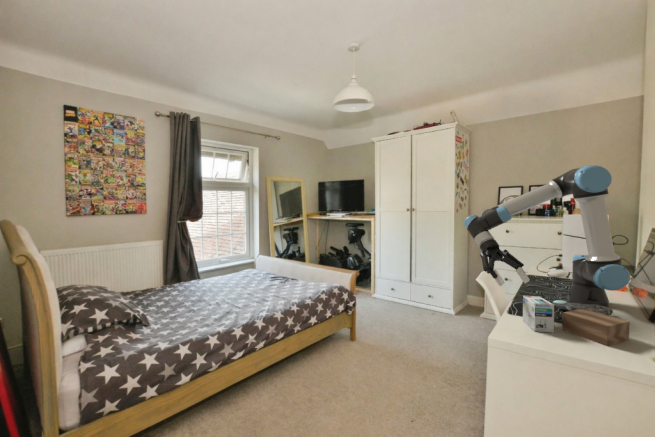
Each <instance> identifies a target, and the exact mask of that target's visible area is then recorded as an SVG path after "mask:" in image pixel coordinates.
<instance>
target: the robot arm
mask: <svg viewBox="0 0 655 437" xmlns="http://www.w3.org/2000/svg"><path fill="white" fill-rule="evenodd" d="M612 179H613V178H612V175H611V173H610V171H609V170H608V169H607V168H605V167H603V166H601V165H596V164H595V165H594V164H593V165H584V166H581V167H576V168H573V169H570V170H569V171H566V172H564V173H563V174H560V175H559V176H557V177H555V178H553V179H549V181H548V183H547V184H544V185H541V186H540V187H537V188H535V189H533V190H530V191H527V192H524V193H523V194H521V195H519V196H517V197H514V198H512V199H510V200H507V201H504V202H503V203H501V204H498V205H496V206H493V207H491V208H487V209H484V210H483V211H482V212H481V213H480V216H478V214H477V215H476V214H473V215H471V214H470V215H469V216H467V217H466V218H465V219H464V221H463V224H464V227H465V229H466V230H467V231H468V233H469V234H470V236H471V238H472V239H473V240H474V241H475V242H476V244H477V247H479V249H480V251H481V252H480V253H479V256H480V257H481V262H482V268H483V271H484V272H486V273H487V275H488V274H490V275H491V278H492V279H494V280H495V282H496V283H497V285H498V286H499V287H502V286H503V285H505V283H506V282H505V280H504V279H503V277H502V276H501V275H500V273H499V272H498V270H497V269H495V263H496V262H502V263H505V264H506V265H508V266H510V267H511V268H513V269H514V270H515V272H516V274H517V275H518V276H519V278H520V279H521V281H522V283H524V284H527V283H528V282H530V281H531V279H530V278H529V276H528V275H527V273H526V272H525V271H524V269H523V268H522V267H524V266H525V264H524V263H523V262H522V261H520V260H518V258H517V257H515V256H514V255H512V254H511V253H510V252H509V251H508V249H504V250H501V249H500V244H499V243H498V242H497V240H496V239H495V237H494V236H493V235H492V233H491V232H490V231H491V230H492V229H494V228H496V227H498V226H500V225H503V224H506V223H507V222H509V221H510V220H512V217H513V216H515V215H517V214H519V213H522V212H525V211H527V210H529V209H531V208H535V207H537V206H539V205H541V204H543V203H546V202H548V201H551V200H553V199H556V198H558V199H562V198H563V197H567V196H570V195H572V197H573V200H575V201H576V202H578V205H579V210H580V211H579V212H580V215H581V216H580V217H581V221H582V227H583V234H584V238H585V242H586V243H585V244H586V247H587V248H586V249H587V253H588V254H574V255H573V257H572V262H571V263H572V277H571V278H572V279H571V280H572V282H571V283H572V284H571V287H570V288H569V291H568V294H567V301H569V302H571V303H580V304H595V305H601V306H604V307H607V308H608V307H609V306H610V299H609V297H608V295H607V292H606V291H611V292H612V291H613V292H614V291H618V290H622V289H623V288H625V287H626V286H627V285H628V284H629V283H630V280H631V274H630V272H629V269H627V268H626V267H625V266H623V263H622V258H621V256H620V255H618V254H616V252H615V247H614V242H613V237H612V231H611V227H610V226H611V225H610V221H609V217H608V211H607V205H606V200H605V198H606V197H607V196H608V195H609V190H608V188H609V187H610V185H611V183H612Z"/></svg>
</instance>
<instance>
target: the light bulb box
mask: <svg viewBox="0 0 655 437" xmlns="http://www.w3.org/2000/svg"><path fill="white" fill-rule="evenodd" d="M522 322H523V323H525V324H526V326H528V327H530V329H532V331H534V332H540V333H542V332H543V333H555V305H554V304H553V302H550V301H549V300H546V299H545V298H543V297H542V296H536V295H522Z"/></svg>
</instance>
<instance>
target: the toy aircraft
mask: <svg viewBox="0 0 655 437" xmlns="http://www.w3.org/2000/svg"><path fill="white" fill-rule="evenodd" d="M552 304H554V307H556V308H558V309H561V310H568V311H573V310H579V309H587V310H590V311H594V312H597V313H601V314H605V315H608V316H611V315H613V313H614V310H613V309H612V308H609V307H608V306H607V307H604V306H601V305H595V304H580V303H573V302H571V301H569V302H568V301H567V300H561V299H560V300H558V299H557V300H554V301H552Z"/></svg>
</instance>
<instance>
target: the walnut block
mask: <svg viewBox="0 0 655 437" xmlns="http://www.w3.org/2000/svg"><path fill="white" fill-rule="evenodd" d="M561 315H562V320H561V324H562V325H561V330H562V331H564V332H567V333H569V334H573V336H576V337H581V338H583V339H586V340H588V341H591V342H594V343H597V344H599V345H602V346H604V347H605V346H606V347H609V346H614V345H617V344H621V343H625V342H629V341H630V321H629V320H627V319H622V318H618V317H615V316H611V315H609V316H608V315H605V314H601V313H597V312H594V311H590V310H587V309H579V310H572V311H569V310H568V311H565V312H562V314H561Z"/></svg>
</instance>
